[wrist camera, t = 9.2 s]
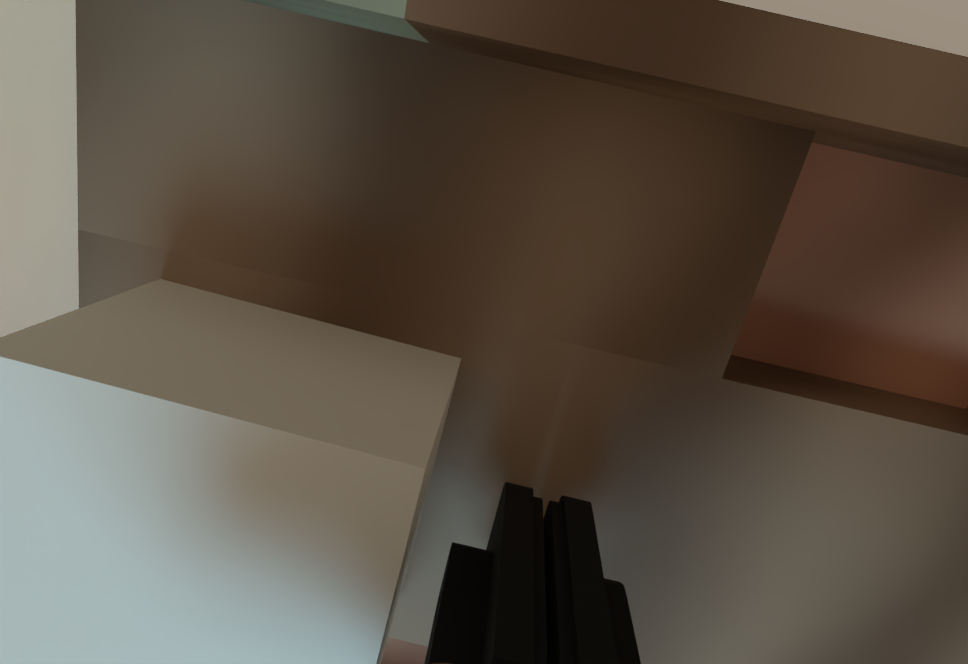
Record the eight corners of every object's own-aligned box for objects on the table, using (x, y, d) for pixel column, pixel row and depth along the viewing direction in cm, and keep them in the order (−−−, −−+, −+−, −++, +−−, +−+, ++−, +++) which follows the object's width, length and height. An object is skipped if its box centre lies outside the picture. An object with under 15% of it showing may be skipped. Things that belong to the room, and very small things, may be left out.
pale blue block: (461, 358, 11) (425, 468, 7) (399, 597, 13) (346, 781, 9) (160, 278, 11) (-29, 348, 7) (142, 529, 13) (-15, 687, 9)
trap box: (1432, 226, 11) (1906, 270, 7) (958, 860, 17) (1080, 1066, 13) (152, -67, 11) (-43, -173, 7) (133, 665, 17) (20, 813, 13)
